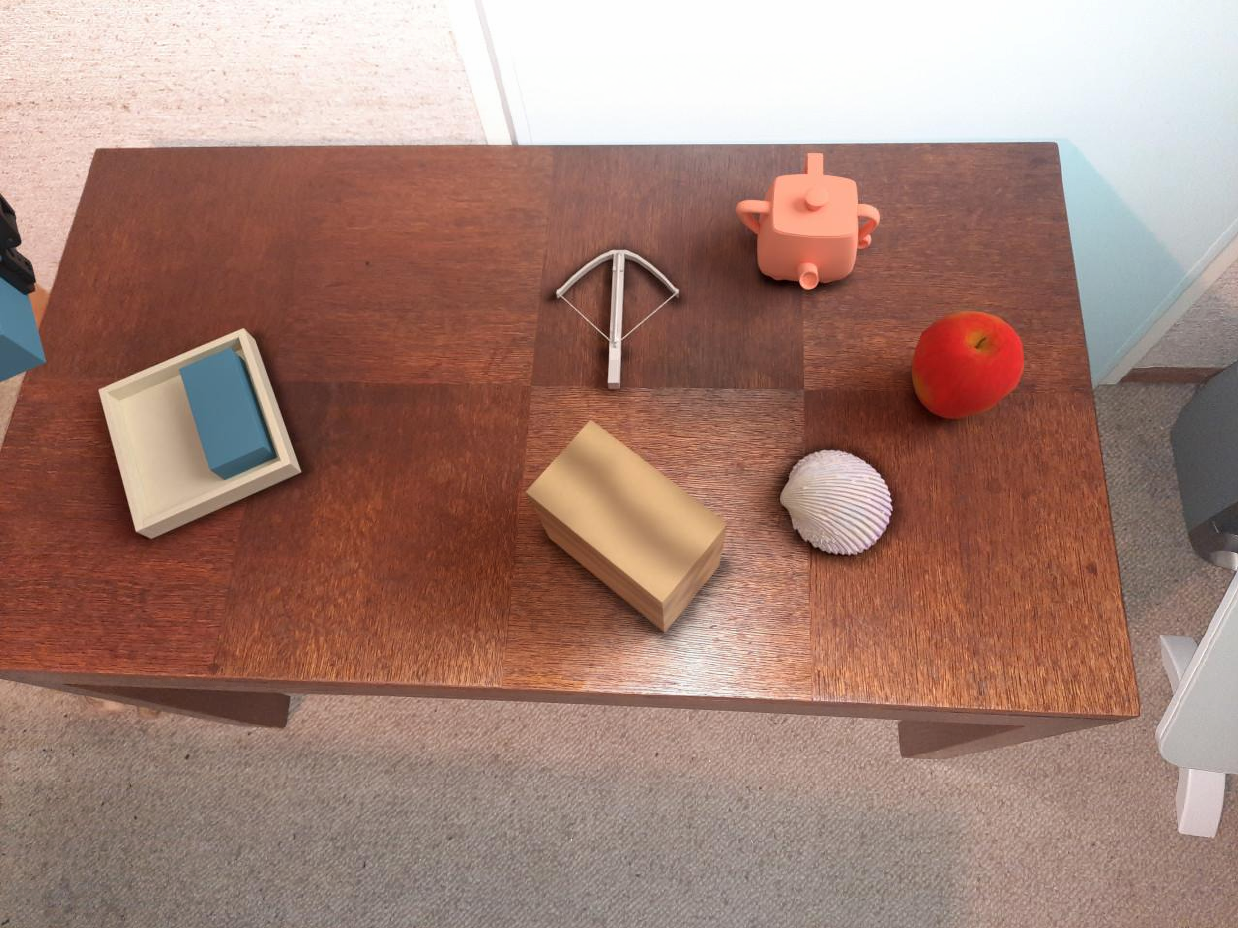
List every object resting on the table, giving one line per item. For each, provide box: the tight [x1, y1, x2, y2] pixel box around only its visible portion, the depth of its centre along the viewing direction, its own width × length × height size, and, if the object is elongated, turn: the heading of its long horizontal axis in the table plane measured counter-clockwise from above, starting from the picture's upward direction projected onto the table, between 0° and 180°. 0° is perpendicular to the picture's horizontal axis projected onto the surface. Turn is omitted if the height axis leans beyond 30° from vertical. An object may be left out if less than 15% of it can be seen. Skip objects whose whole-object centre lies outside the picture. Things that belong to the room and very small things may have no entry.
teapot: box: [735, 152, 881, 290], centre depth 85 cm, size 12×12×10 cm
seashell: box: [779, 449, 893, 556], centre depth 79 cm, size 10×6×10 cm
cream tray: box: [98, 327, 302, 540], centre depth 86 cm, size 16×17×3 cm
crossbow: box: [556, 249, 680, 390], centre depth 88 cm, size 16×13×2 cm
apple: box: [911, 310, 1025, 420], centre depth 78 cm, size 9×9×12 cm
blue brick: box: [179, 348, 277, 480], centre depth 85 cm, size 6×12×3 cm, turn 25°
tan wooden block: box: [525, 419, 728, 633], centre depth 73 cm, size 8×14×14 cm, turn 50°
